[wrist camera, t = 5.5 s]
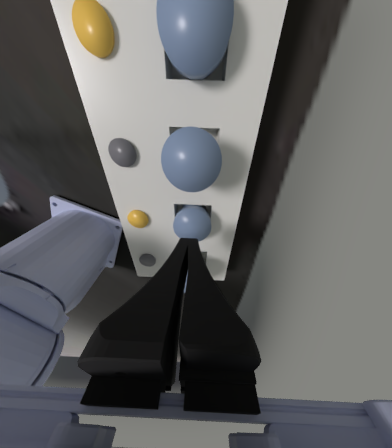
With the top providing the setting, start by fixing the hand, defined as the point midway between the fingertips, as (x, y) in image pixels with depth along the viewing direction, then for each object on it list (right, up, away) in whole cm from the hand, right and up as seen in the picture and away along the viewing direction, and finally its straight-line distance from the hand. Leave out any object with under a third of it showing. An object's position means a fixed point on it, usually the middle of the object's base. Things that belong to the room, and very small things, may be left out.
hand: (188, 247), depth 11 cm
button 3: (0, +7, 0) cm, 7 cm away
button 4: (+1, +13, -2) cm, 13 cm away
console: (-1, +6, +4) cm, 7 cm away
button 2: (0, +3, +5) cm, 6 cm away
